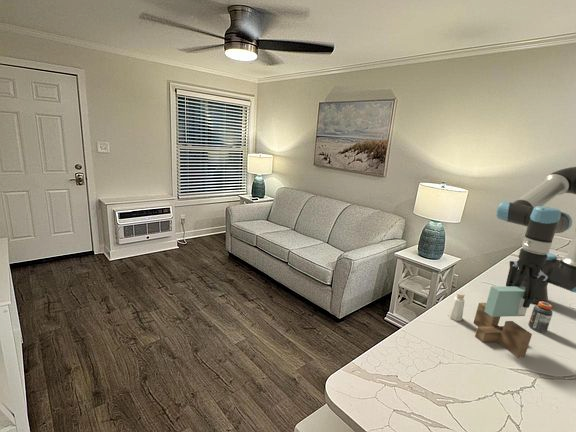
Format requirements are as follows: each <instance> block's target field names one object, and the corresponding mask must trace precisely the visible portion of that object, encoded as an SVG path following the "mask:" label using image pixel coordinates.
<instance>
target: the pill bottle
mask: <svg viewBox="0 0 576 432" xmlns="http://www.w3.org/2000/svg"><path fill="white" fill-rule="evenodd" d="M551 309H552V305H551V304H550V303H548V302H547V303H546V302H542V301H540V302H539V303H538V304H537V305H534V307H533V309H532V312H531V314H530V319H529V321H528V327H529V328H530V329H531V330H533V331H535V332H538V333H542V334H543V333H546V332H548V329H549V326H550V323H551V319H552V317H553V311H552V310H551Z"/></svg>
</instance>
